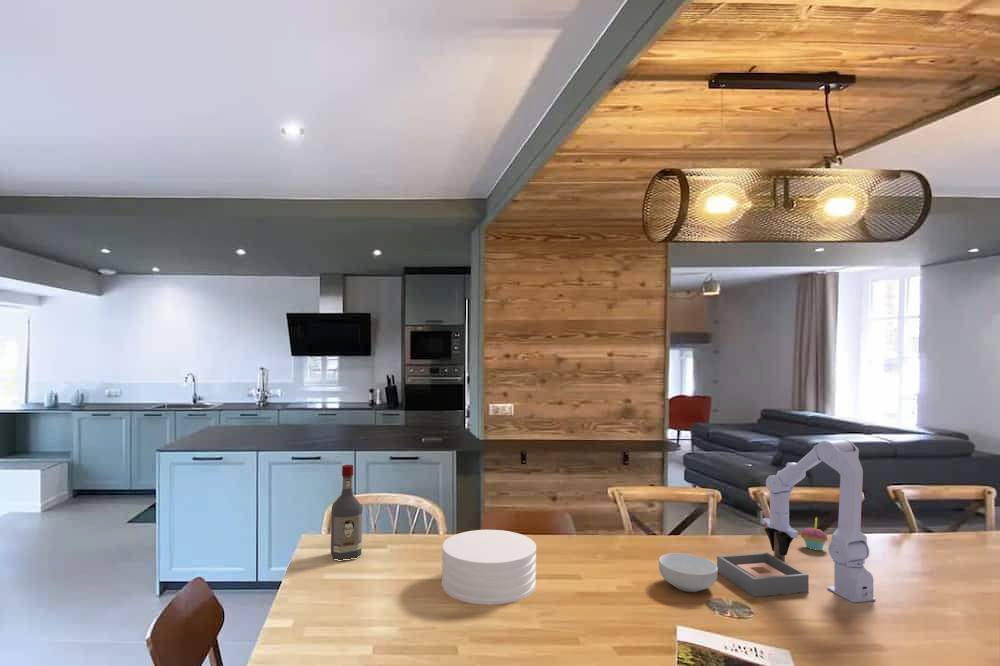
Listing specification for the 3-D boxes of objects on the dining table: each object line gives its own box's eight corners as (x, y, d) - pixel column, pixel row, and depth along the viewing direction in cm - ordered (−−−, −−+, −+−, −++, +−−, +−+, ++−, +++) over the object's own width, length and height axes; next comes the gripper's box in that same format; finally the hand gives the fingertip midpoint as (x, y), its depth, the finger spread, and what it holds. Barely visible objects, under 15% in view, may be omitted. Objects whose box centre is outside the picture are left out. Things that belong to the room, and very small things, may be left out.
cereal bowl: (722, 602, 156) (722, 576, 156) (661, 596, 159) (661, 571, 159) (712, 577, 173) (712, 554, 173) (656, 572, 176) (656, 550, 176)
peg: (787, 564, 184) (787, 534, 184) (778, 565, 183) (778, 534, 183) (780, 560, 187) (780, 530, 187) (771, 561, 186) (771, 531, 186)
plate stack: (422, 591, 161) (423, 551, 161) (472, 559, 185) (472, 524, 186) (509, 614, 148) (510, 570, 148) (550, 576, 172) (550, 538, 173)
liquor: (329, 553, 188) (331, 464, 189) (357, 549, 192) (358, 462, 193) (333, 563, 180) (335, 469, 181) (362, 558, 184) (364, 467, 185)
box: (808, 592, 163) (808, 574, 163) (754, 597, 159) (754, 579, 159) (766, 568, 180) (766, 552, 181) (717, 571, 177) (717, 556, 177)
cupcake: (832, 553, 195) (832, 518, 195) (808, 552, 195) (808, 518, 195) (819, 544, 203) (819, 511, 204) (795, 543, 204) (795, 510, 204)
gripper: (754, 505, 192) (754, 545, 191) (784, 518, 177) (784, 561, 177) (772, 504, 193) (772, 544, 193) (803, 517, 179) (803, 560, 178)
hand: (779, 552), depth 185 cm, fingers closed on peg, 3 cm apart
